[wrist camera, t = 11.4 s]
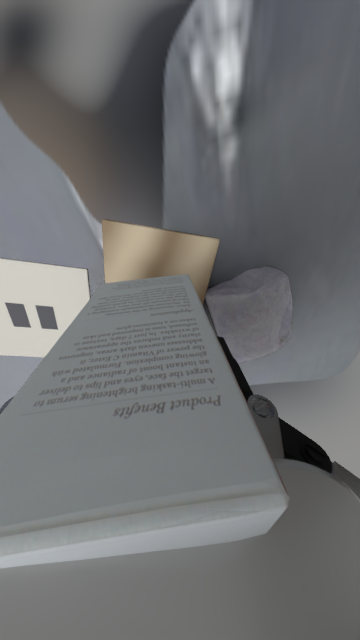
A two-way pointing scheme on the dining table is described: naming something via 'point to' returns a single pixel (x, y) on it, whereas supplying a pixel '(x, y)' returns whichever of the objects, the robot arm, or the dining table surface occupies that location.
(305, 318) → the dining table surface
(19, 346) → the cream tile
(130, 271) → the wooden board
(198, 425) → the small box
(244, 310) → the stone block
